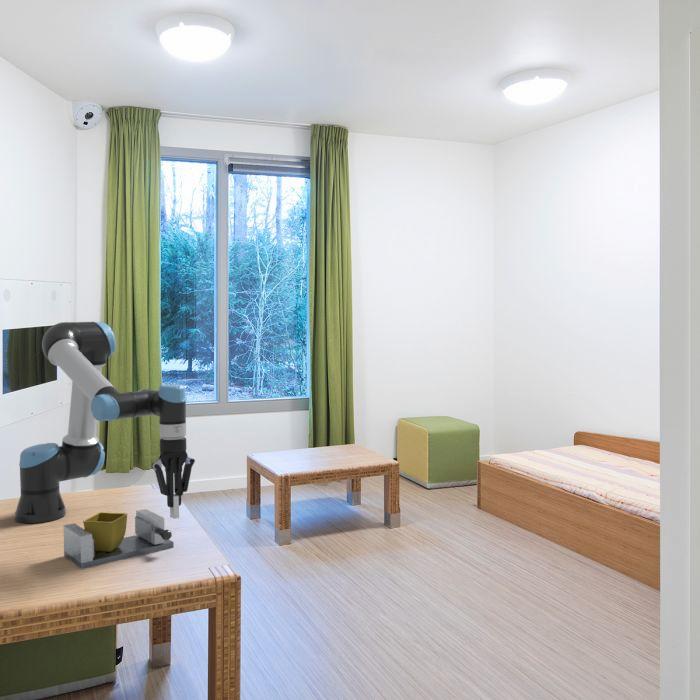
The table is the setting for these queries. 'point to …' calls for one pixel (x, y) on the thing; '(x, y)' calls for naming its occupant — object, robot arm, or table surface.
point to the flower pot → (106, 530)
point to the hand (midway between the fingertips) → (174, 517)
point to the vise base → (84, 556)
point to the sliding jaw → (151, 527)
